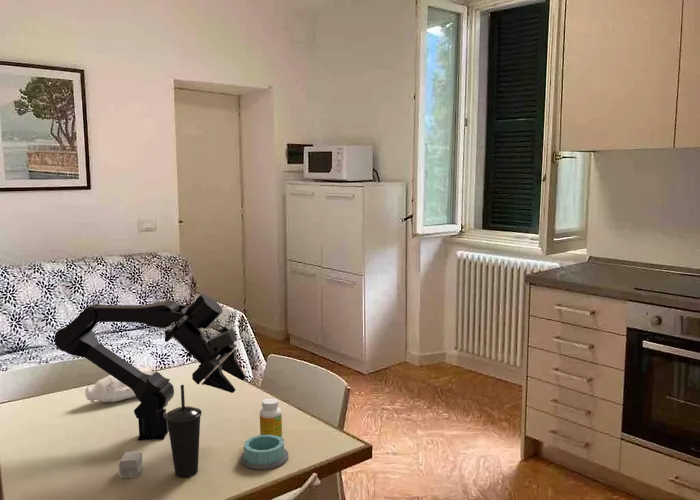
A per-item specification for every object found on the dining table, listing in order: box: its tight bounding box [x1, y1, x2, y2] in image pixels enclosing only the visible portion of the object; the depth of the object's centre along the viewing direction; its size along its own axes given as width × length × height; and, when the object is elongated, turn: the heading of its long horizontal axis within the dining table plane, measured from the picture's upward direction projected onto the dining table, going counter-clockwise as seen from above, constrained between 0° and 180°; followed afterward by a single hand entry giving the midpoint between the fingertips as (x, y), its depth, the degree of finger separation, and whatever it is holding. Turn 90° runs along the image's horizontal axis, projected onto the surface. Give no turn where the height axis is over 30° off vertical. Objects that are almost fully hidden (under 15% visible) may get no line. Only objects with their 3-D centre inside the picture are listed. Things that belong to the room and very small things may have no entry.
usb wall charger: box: [118, 450, 144, 479], centre depth 133 cm, size 4×7×4 cm, turn 7°
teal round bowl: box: [239, 435, 289, 471], centre depth 140 cm, size 11×11×4 cm
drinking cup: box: [165, 384, 203, 479], centre depth 133 cm, size 8×8×20 cm
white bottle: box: [84, 366, 155, 404], centre depth 179 cm, size 8×19×8 cm, turn 129°
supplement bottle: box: [259, 397, 283, 439], centre depth 150 cm, size 5×5×10 cm
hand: (239, 385), depth 150 cm, fingers open, 9 cm apart
